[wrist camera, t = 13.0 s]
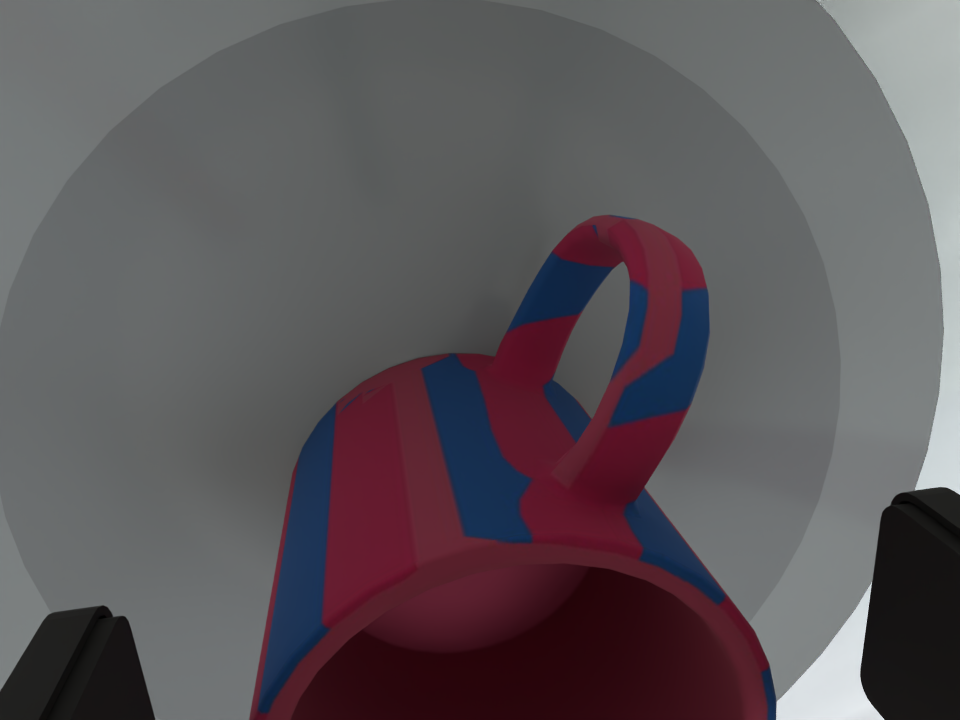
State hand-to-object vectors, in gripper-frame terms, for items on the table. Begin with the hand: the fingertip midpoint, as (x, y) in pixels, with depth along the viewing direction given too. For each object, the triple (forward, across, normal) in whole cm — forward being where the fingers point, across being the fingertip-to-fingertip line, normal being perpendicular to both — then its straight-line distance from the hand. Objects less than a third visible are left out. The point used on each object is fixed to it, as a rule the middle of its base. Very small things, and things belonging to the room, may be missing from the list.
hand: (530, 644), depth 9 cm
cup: (+6, 0, 0) cm, 7 cm away
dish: (+8, 0, +1) cm, 8 cm away
